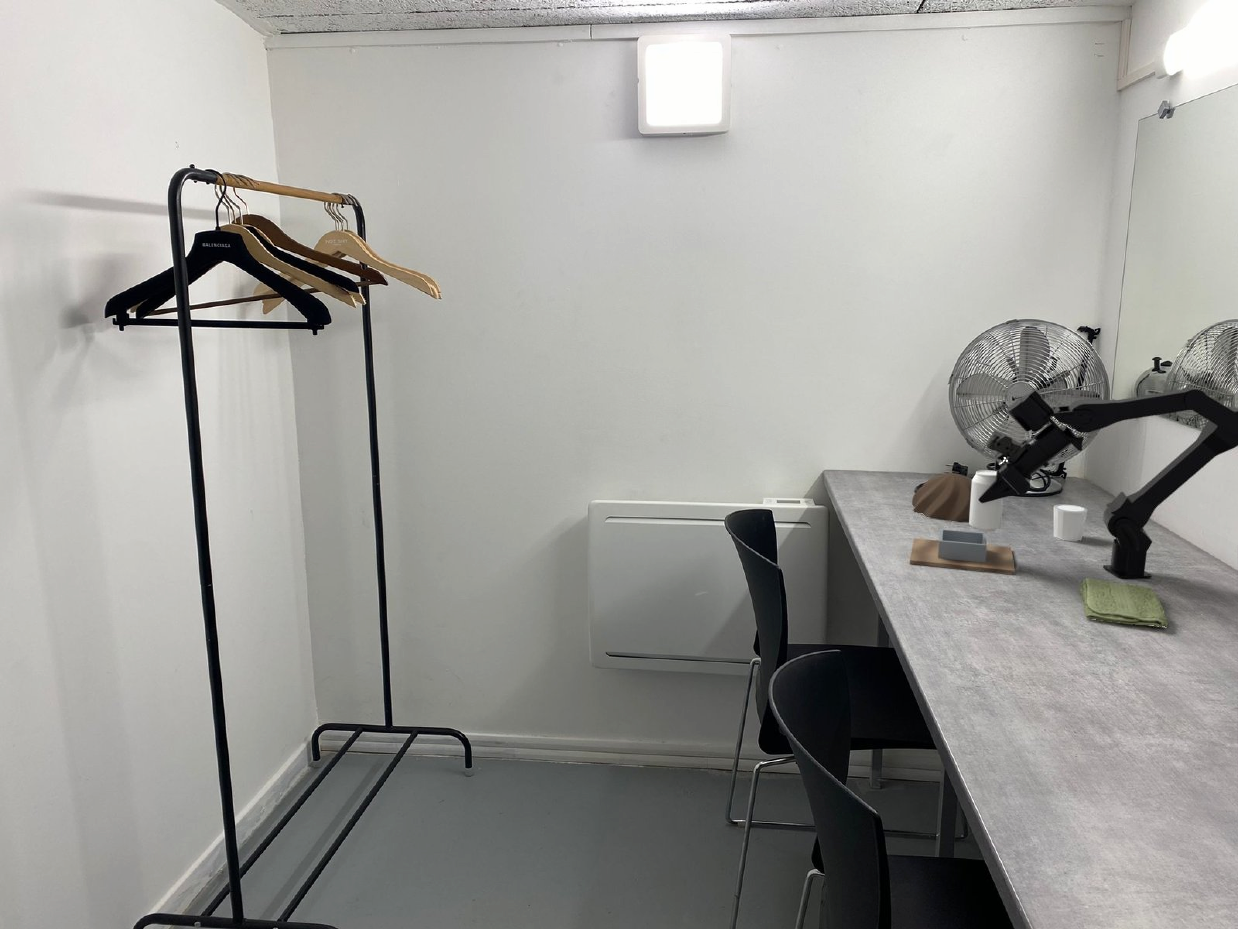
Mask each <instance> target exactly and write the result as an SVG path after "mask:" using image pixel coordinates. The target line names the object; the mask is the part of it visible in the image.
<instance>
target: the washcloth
mask: <svg viewBox="0 0 1238 929" xmlns="http://www.w3.org/2000/svg"><path fill="white" fill-rule="evenodd" d="M1078 589H1079V593H1080V595H1081V596H1082V602H1083V609H1084V617H1085V618H1086V619H1088V620H1089V619H1096V620H1103V621H1102V622H1105V621H1112V622H1111V623H1115V622H1120V623H1119V624H1122V623H1123V625H1133V624H1135V625H1137V626H1138V625H1139V626H1144V625H1154V626H1159V627H1162V626H1165V627H1167V626H1168V625H1169V621H1168V620H1167V617H1166V615H1165V610H1164V606H1162V603H1161V601H1160V598H1159V595H1158V594H1157V592H1156V591H1155V589H1154V588H1153V587H1149V586H1144V585H1138V584H1136V585H1134V584H1130V583H1117V582H1111V581H1110V582H1109V581H1107V580H1103V579H1096V578H1089V577H1088V578H1087V577H1086V578H1085V579H1083V580H1082V583H1081V584H1080V585H1079V588H1078ZM1096 620H1095V621H1096ZM1135 625H1134V626H1135ZM1167 628H1168V627H1167Z"/></svg>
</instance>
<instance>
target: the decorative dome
mask: <svg viewBox="0 0 1238 929" xmlns="http://www.w3.org/2000/svg"><path fill="white" fill-rule="evenodd" d="M972 479H973V478H971V477H969V476H966V475H963V474H959V473H955V472H950V473H949V472H947V473H943V474H938V475H936V476H933V477H931V478H929V479H928V480H927V481H925V482H924V484H922V485H921V486H922V487H920V488H919V489H918V490H917V491H916V492H915V493H914V494H913V497H912V500H911V505H913V506H914V507H915V508H914V507H913V506H912V507H913V510H912V512H913V511H915V512H914V513H916V512H917V514H919V513H923V514H924V515H925V517H926V518H927V517H931V518H930V519H934V518H938V519H937V520H944V521H948V520H951V521H950V522H952V521H958V522H969V516H970V502H971V487H972ZM923 514H922V515H923ZM924 515H923V516H924Z"/></svg>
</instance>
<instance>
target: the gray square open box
mask: <svg viewBox="0 0 1238 929" xmlns="http://www.w3.org/2000/svg"><path fill="white" fill-rule="evenodd" d="M938 541H939V550H938V558H944V559H954V560H964V561H975V562H985V560H986V548H987V545H988V542H987V532H982V531H968V530H959V529H946V528H940V529H939V538H938Z"/></svg>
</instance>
